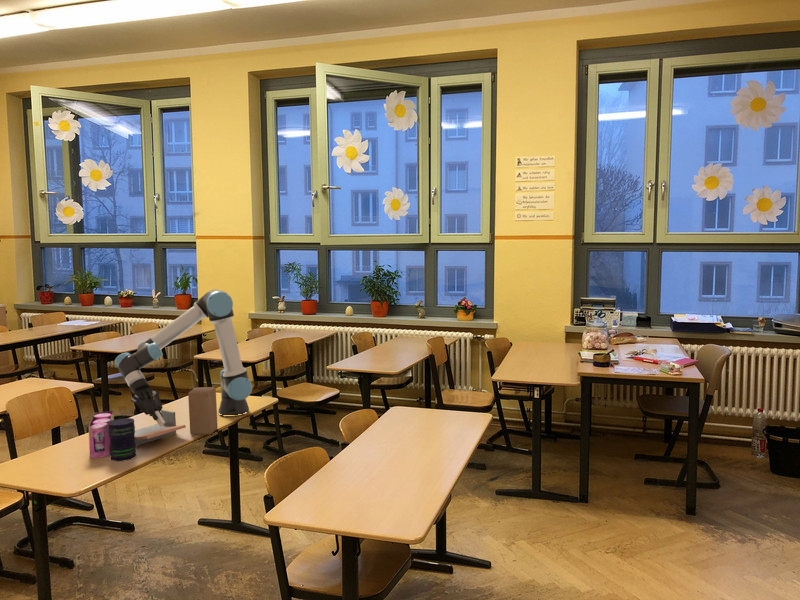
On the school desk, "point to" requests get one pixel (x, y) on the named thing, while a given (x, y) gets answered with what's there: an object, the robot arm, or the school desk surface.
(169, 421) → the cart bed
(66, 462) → the school desk surface
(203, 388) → the wooden block
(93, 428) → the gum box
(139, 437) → the panel
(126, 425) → the storage jar
